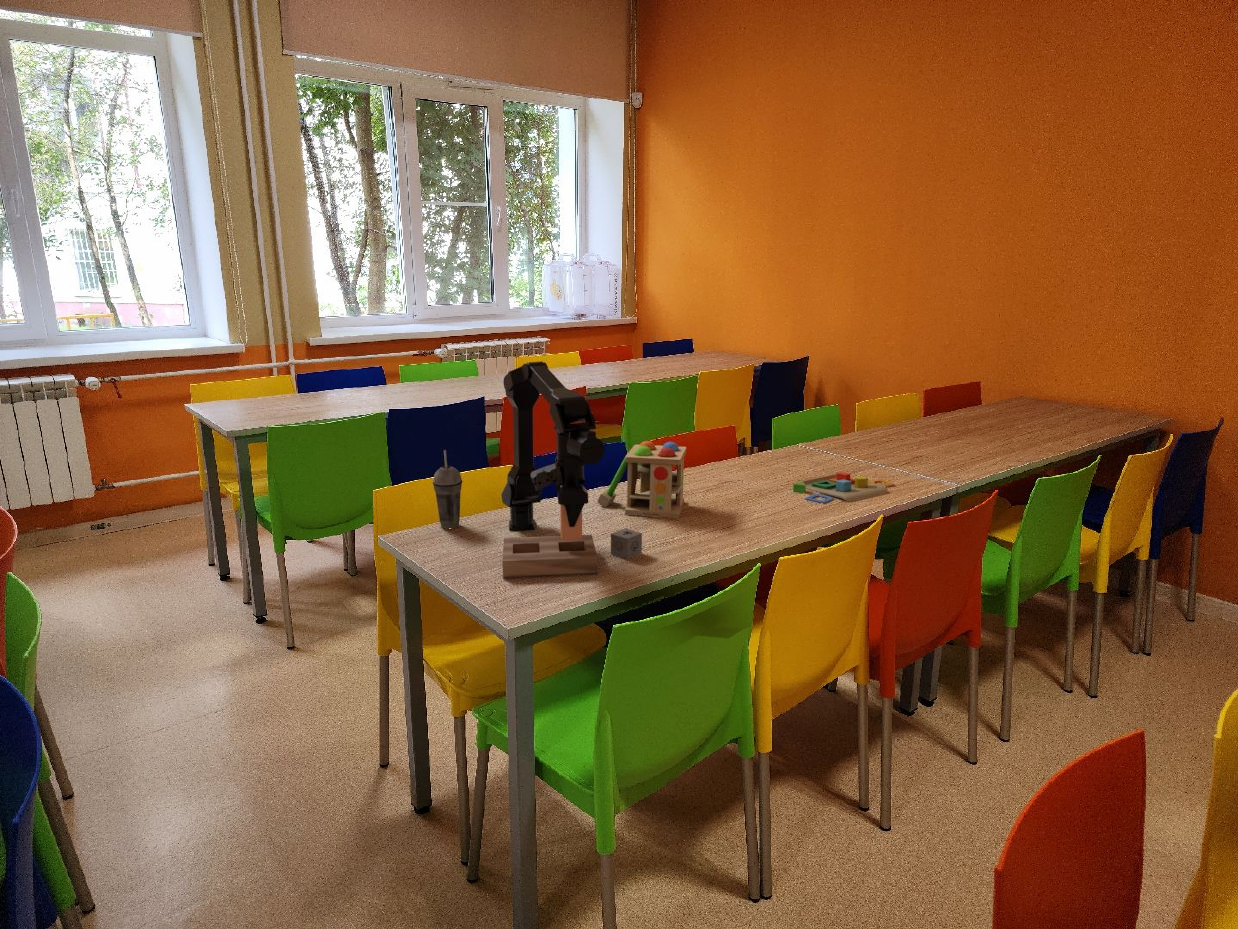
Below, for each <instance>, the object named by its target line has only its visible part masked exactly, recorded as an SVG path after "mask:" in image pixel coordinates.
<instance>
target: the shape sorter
mask: <svg viewBox="0 0 1238 929" xmlns="http://www.w3.org/2000/svg"><path fill="white" fill-rule="evenodd" d="M868 479H869V477H867V476H863V475H861V476H859V475H858V476H855V477H854V478H852V477H851V473H847V472H843V471H842V472H836V473H834V474H829V475H823V476H818V477H814V478H810V479H804V480H802V481H800V482H796V483H793V484H792V493H796V492H799V493H798V494H803V493H805V494H806V490H807V491H808V490H809V491H811V492H814V491H816V492H815V493H814V494H812V495H809V496H807V497H805V498H804V501H808V502H813V503H816V504H821V503H823V504H822V505H824V504H827V503H830V502H832V501H834V500H835V499H834V497H835V498H840V499H842V500H844V501H845V502H846V503H852V502H856V501H861V500H865V499H869V498H868V497H870V498H873V497H878V496H882V494H883V495H887V494H888V492H889V490H888V487H884V486H891V487H894V486H893V485H895V483H893V482H891V481H888V480H886V479H883V478H882V479H881V478H880V479H872V480H868ZM875 482H884V483H883V484H882V483H880V484H879V483H875ZM885 483H886V484H885ZM895 486H896V485H895ZM817 492H819V493H818V494H817ZM821 493H822V494H821ZM886 493H887V494H886ZM815 497H816V498H815ZM819 497H822V498H821V499H822V500H821V499H820V500H819V499H817V498H819ZM813 498H814V499H813ZM823 498H825V499H823Z"/></svg>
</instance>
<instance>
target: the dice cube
mask: <svg viewBox="0 0 1238 929" xmlns="http://www.w3.org/2000/svg"><path fill="white" fill-rule="evenodd" d="M642 541H643V533H642V532H640V531H635V530H632V529H629V528H623V529H620V530H616V531H614V532H611V533H610V555H612V554H613V555H612V556H615V555H616V557H619V558H623V559H624V558H626V559H625V560H627V559H628V560H630V559H633V558H634V557H636V555H637V556H639V555H641V554H642V553H643V549H642V548H643V542H642ZM640 553H641V554H640ZM638 554H639V555H638ZM629 558H630V559H629Z"/></svg>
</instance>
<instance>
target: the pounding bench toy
mask: <svg viewBox="0 0 1238 929" xmlns="http://www.w3.org/2000/svg"><path fill="white" fill-rule="evenodd" d="M686 454H687V446H679V445H678V444H677V443H676V442H673V441H668V442H665V443H664V444H663V445H655V443H654V442H652V441H650V440H645V441H642V442H641V443H640V444H634V445H633V446H632V448H630V450H629V451H628V452H627V454H626V455H625V457H624V458H623V460H622V462H621V464H620V466H619V468H618V470H617V472H616V474H615V475H614V477H613V479H612V481H611V483H610V485H609V487H608V488H607V489H606V490H604V491H603V492H601V494H600V495H599V496H598V499H597V503H598V504H599V506H602V507H604V508H608V506H610V505H611V504H612V503H614V501H615V500H616V498H617V493H615V491H616V489H617V488H618V485H619V483H620V482H621V480H622V478H623V476H624V474H625V471H626V470H627V481H626V482H627V485H626V486H627V488H626V492H627V493H626V507H625V509H624V515H625V516H637V515H643V516H642V517H651V516H657V517H656V518H664V517H670V518H669V519H679V518H680V516H679V515H681V513H682V509H683V507H684V505H685V496H684V473H685V472H684V471H685V470H684V469H685V468H684V466H685V465H684V462H685V456H686ZM639 464H640V465H639ZM673 466H676V471H675V470H674V471H673ZM638 474H640V490H639V491H640V493H638V492H637V493H636V488H637V483H638V482H637V480H638ZM674 494H675V495H674ZM672 495H673V496H672Z"/></svg>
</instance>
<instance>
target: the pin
mask: <svg viewBox="0 0 1238 929" xmlns="http://www.w3.org/2000/svg"><path fill="white" fill-rule="evenodd" d="M559 506H560V507H559V509H560V510H559V511H560V512H559V514H560V536H561V539H562V540H579V539H582V535H583V510H582V511H581V513H580V515H579V517H578V520H577V522H576V524H575V527H569V522H568V518H567V513H566V508H565V506H564V505H560V504H559Z"/></svg>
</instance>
